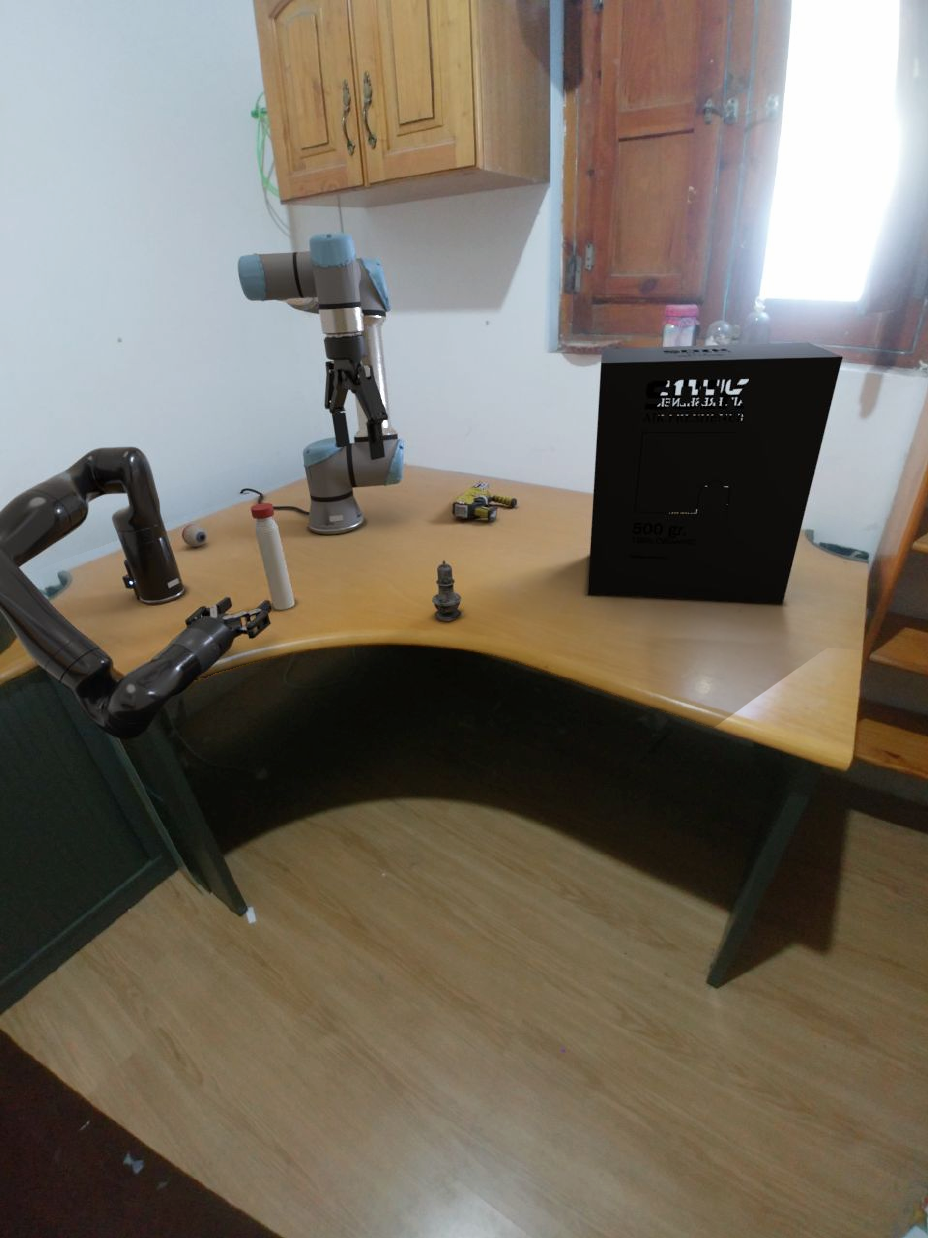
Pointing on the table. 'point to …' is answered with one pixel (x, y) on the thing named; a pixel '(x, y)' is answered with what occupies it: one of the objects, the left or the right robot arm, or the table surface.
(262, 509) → the cap
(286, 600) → the bottle
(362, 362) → the right robot arm
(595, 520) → the cardboard box
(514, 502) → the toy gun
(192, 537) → the eyeball
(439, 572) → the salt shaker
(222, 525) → the table surface
